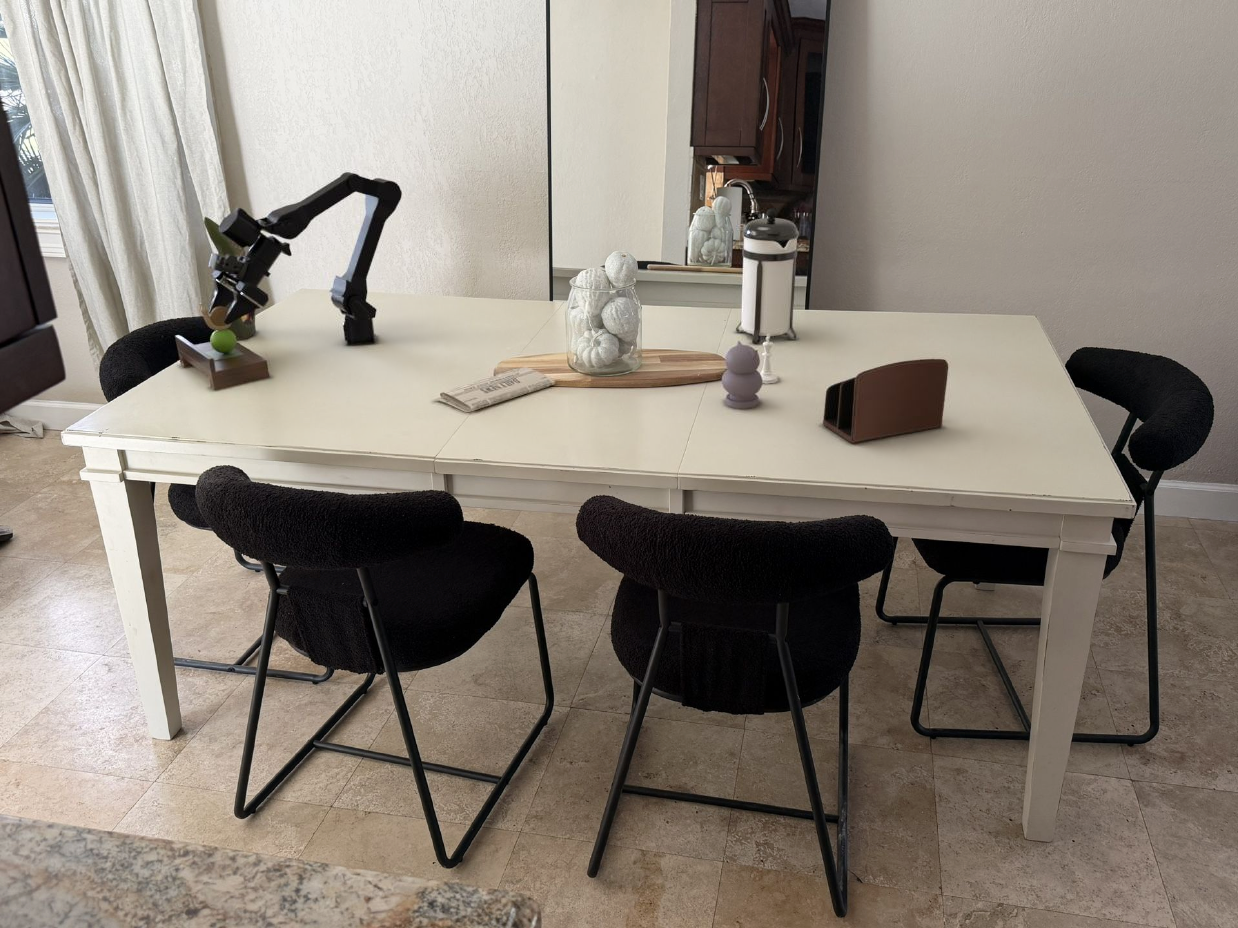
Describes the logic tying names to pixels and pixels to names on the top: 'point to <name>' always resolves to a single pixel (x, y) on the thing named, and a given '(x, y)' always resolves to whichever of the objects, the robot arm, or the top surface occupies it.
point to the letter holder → (888, 400)
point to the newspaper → (496, 389)
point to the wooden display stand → (223, 363)
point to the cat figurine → (742, 377)
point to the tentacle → (224, 246)
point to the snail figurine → (219, 329)
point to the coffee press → (768, 277)
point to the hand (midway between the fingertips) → (217, 319)
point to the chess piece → (767, 364)
